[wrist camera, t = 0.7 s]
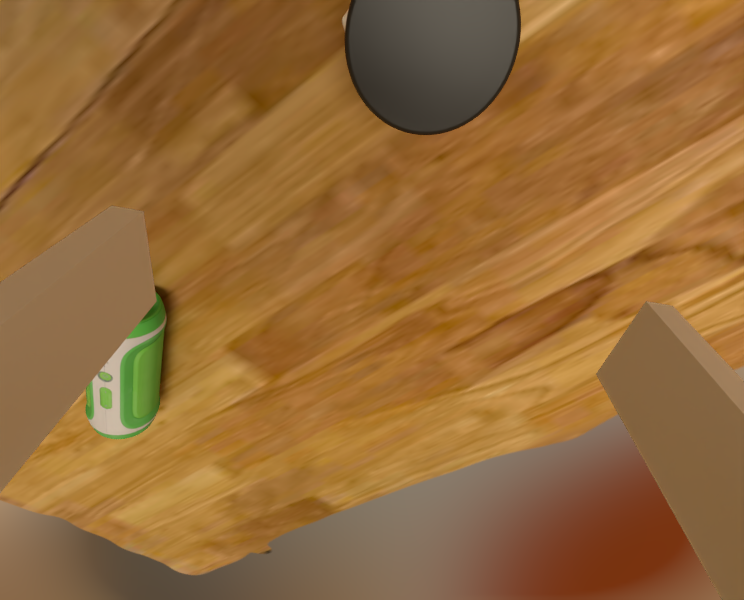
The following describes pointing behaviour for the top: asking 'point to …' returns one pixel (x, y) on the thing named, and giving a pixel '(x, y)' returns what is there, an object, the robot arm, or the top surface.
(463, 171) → the top surface
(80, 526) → the top surface
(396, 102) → the jar
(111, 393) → the speaker
